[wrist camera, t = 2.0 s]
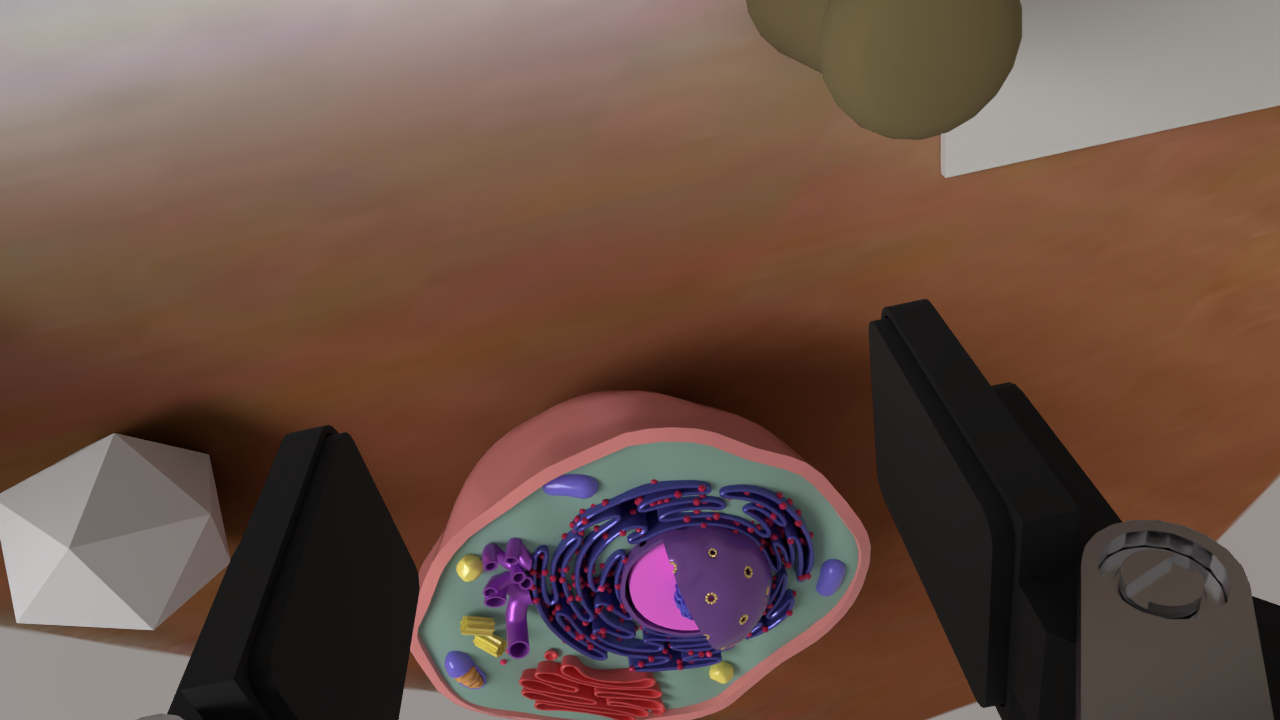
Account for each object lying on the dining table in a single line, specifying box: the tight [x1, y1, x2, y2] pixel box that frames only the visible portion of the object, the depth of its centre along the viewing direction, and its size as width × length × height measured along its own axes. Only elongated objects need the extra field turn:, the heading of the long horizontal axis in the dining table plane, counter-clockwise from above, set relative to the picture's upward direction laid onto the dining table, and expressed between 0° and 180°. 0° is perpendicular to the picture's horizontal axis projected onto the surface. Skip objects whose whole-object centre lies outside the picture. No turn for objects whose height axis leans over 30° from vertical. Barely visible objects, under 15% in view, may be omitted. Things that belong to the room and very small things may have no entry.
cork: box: [746, 0, 1022, 140], centre depth 27 cm, size 6×6×11 cm
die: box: [0, 433, 231, 630], centre depth 38 cm, size 8×9×10 cm
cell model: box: [410, 390, 871, 720], centre depth 39 cm, size 17×20×11 cm
